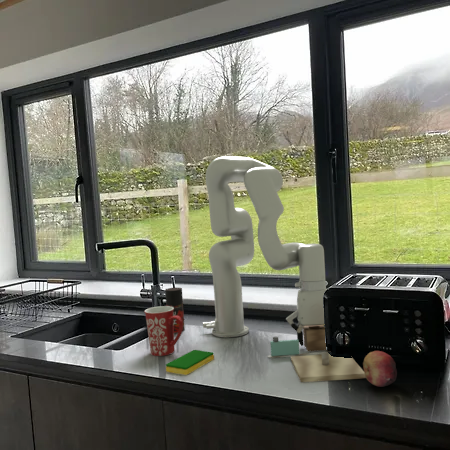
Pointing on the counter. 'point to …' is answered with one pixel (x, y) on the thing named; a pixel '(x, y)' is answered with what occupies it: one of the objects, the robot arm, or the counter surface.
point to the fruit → (380, 368)
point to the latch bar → (284, 347)
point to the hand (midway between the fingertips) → (315, 343)
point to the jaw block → (314, 337)
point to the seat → (324, 367)
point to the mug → (162, 329)
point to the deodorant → (175, 305)
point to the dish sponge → (189, 362)
